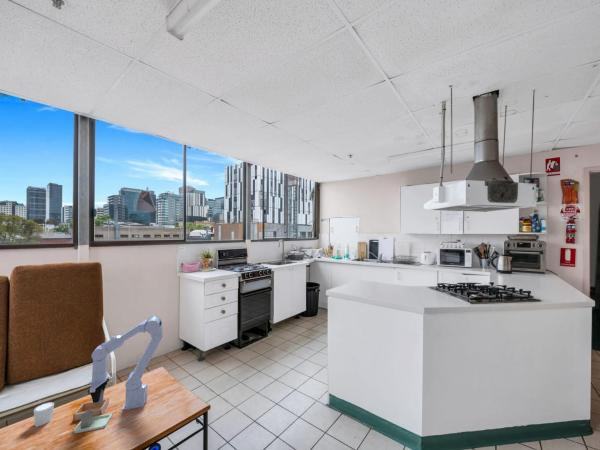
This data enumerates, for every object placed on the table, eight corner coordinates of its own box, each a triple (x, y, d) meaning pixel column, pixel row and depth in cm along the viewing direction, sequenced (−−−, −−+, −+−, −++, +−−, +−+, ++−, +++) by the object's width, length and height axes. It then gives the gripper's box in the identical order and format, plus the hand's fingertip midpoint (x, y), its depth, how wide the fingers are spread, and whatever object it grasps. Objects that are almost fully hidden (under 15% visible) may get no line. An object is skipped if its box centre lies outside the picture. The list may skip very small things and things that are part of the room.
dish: (108, 405, 130) (108, 398, 130) (100, 416, 121) (101, 410, 121) (82, 409, 126) (82, 402, 127) (72, 421, 118) (73, 414, 118)
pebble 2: (104, 399, 127) (105, 389, 127) (100, 404, 123) (100, 394, 124) (95, 400, 126) (96, 390, 127) (91, 405, 122) (91, 394, 123)
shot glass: (40, 428, 114) (41, 412, 114) (28, 426, 115) (29, 410, 115) (57, 418, 120) (58, 402, 121) (46, 415, 122) (47, 400, 122)
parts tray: (112, 415, 122) (112, 413, 122) (104, 428, 114) (105, 425, 114) (82, 421, 118) (82, 418, 118) (72, 434, 110) (72, 431, 110)
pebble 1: (93, 421, 118) (94, 410, 118) (89, 427, 114) (90, 415, 114) (83, 423, 117) (83, 411, 117) (78, 429, 113) (79, 417, 113)
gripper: (96, 365, 131) (95, 392, 131) (82, 380, 117) (80, 410, 117) (112, 363, 133) (111, 389, 133) (100, 377, 120) (98, 407, 119)
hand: (98, 399), depth 125 cm, fingers closed on pebble 2, 4 cm apart
